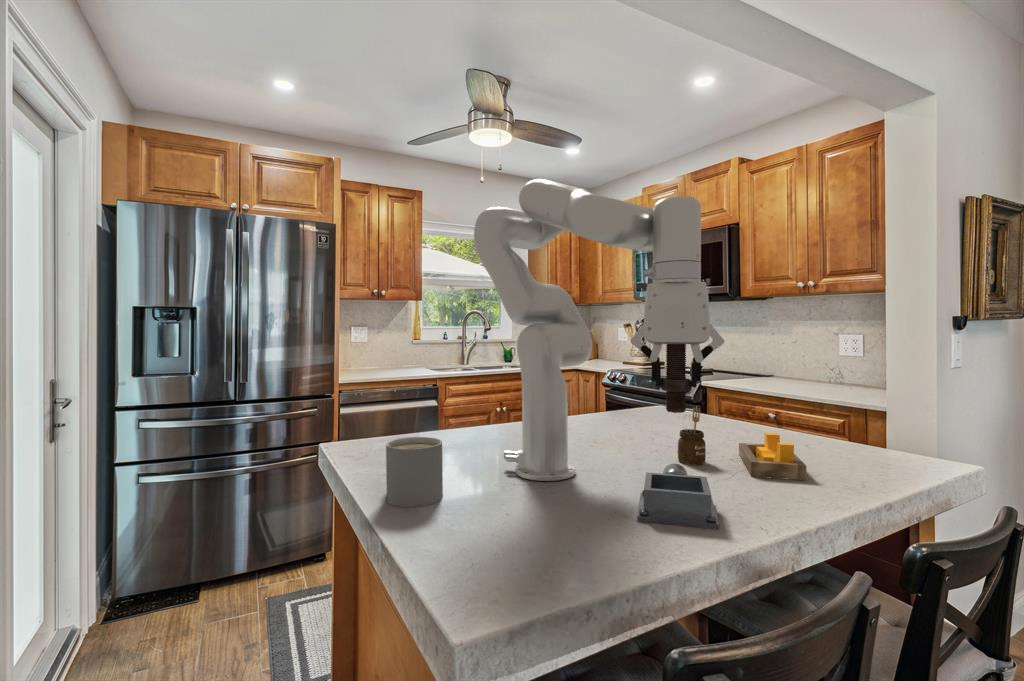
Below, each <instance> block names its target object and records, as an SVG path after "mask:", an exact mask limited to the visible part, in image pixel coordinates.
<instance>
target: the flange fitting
mask: <svg viewBox="0 0 1024 681" xmlns="http://www.w3.org/2000/svg"><path fill="white" fill-rule="evenodd" d="M715 508H716V507H715V505H714V500H713V498H712V492H711V489H710V485H709V482H708V477H707V476H697V475H688V472H687V469H685V467H684V466H683V465H681V464H678V463H671V464H668V465H666V466H665V467H664V469H663V471H662V473H660V472H647V471H646V472H645V479H644V486H643V490H642V492H640V495H639V501H638V508H637V514H636V515H637V516H636V522H640V523H642V522H643V523H651V524H660V525H661V524H662V525H672V526H681V527H682V526H683V527H690V528H700V529H701V528H702V529H709V530H720V523H719V520H718V516H717V511H716V509H715Z"/></svg>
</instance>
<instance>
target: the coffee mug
mask: <svg viewBox="0 0 1024 681" xmlns="http://www.w3.org/2000/svg"><path fill="white" fill-rule="evenodd" d="M385 467H386V469H385V470H386V478H385V479H386V481H385V482H386V502H387V503H388V504H389V505H391V506H395V507H400V508H417V507H418V508H419V507H425V506H430V505H433V504H436V503H438V502H440V501H441V500H442V499H443V497H444V496H443V495H444V493H443V492H444V491H443V489H444V488H443V487H444V486H443V480H444V479H443V476H444V475H443V441H442V440H441V439H439V438H436V437H429V436H428V437H427V436H413V437H412V436H411V437H410V436H409V437H402V438H397V439H393V440H390V441H388V442H387V443H386V445H385Z"/></svg>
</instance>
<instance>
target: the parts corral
mask: <svg viewBox="0 0 1024 681" xmlns="http://www.w3.org/2000/svg"><path fill="white" fill-rule="evenodd" d="M756 447H765V443H764V444H762V443H746V442H739V443H738V457H739V456H740V457H741V458H740V457H739V458H740V460H741V459H742V460H741V462H742V461H743V462H742V463H743V466H744V467H745V466H746V467H745V468H747V469H746V470H747V472H748V474H749V475H751V476H750V477H751V478H763V477H771V478H770V479H777V478H788V479H787V480H790V479H802V480H801V481H804V480H806V481H807V465H806V464H805V463H804V462H803V461H802V460H801V458H799V457H798V456H797V455H796V454H795V453H794V463H786V462H770V461H758V460H757V459H756Z"/></svg>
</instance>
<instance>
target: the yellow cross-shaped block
mask: <svg viewBox="0 0 1024 681" xmlns="http://www.w3.org/2000/svg"><path fill="white" fill-rule="evenodd" d="M780 436H781V435H780V434H779V433H775V432H773V433H772V432H764V444H765V447H756V459H757V460H758V461H770V462H786V463H794V454H795V444H793V443H792V442H780Z"/></svg>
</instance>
